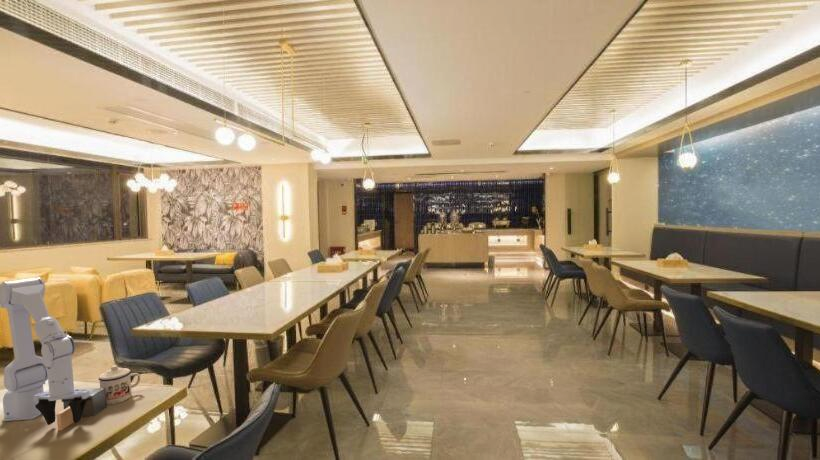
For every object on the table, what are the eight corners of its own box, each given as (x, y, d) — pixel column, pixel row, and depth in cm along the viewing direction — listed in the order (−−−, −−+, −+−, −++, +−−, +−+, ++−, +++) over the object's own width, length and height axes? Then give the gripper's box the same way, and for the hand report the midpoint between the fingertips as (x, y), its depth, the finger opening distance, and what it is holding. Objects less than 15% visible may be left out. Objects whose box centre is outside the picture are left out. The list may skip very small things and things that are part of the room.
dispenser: (63, 418, 131) (61, 398, 131) (78, 408, 138) (76, 389, 138) (92, 417, 132) (91, 396, 131) (106, 407, 138) (105, 387, 138)
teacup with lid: (104, 408, 138) (101, 373, 137) (97, 400, 144) (94, 367, 143) (145, 394, 147) (143, 362, 146) (137, 388, 153) (135, 356, 152)
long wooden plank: (57, 430, 124) (56, 414, 124) (86, 411, 136) (85, 396, 136) (61, 430, 124) (60, 414, 124) (90, 410, 136) (88, 395, 136)
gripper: (23, 385, 121) (27, 431, 122) (76, 382, 122) (79, 427, 122) (43, 375, 128) (47, 418, 129) (93, 373, 129) (96, 415, 130)
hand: (64, 422), depth 126 cm, fingers open, 7 cm apart
